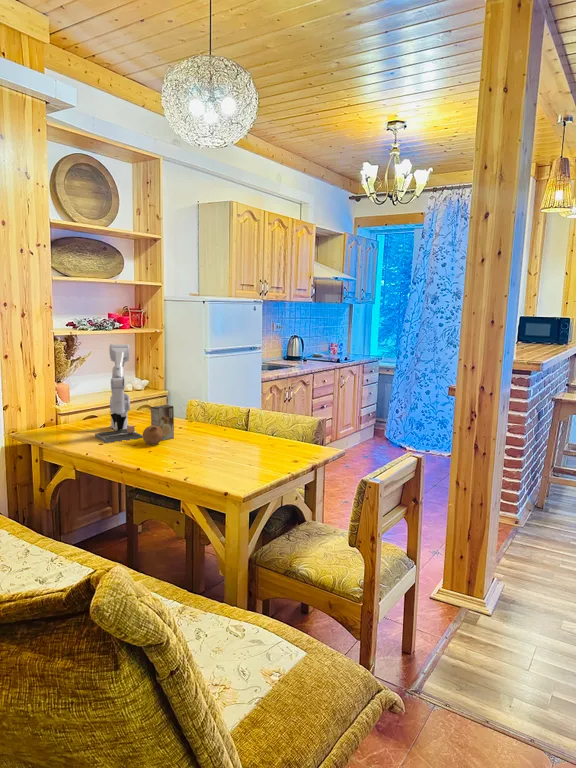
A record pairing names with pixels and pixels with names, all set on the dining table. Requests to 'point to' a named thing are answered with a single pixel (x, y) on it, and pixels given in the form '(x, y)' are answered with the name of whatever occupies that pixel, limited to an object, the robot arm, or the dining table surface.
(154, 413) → the coffee box
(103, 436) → the console
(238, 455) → the dining table surface
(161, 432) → the onion
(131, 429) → the fader
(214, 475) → the dining table surface
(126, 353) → the robot arm
